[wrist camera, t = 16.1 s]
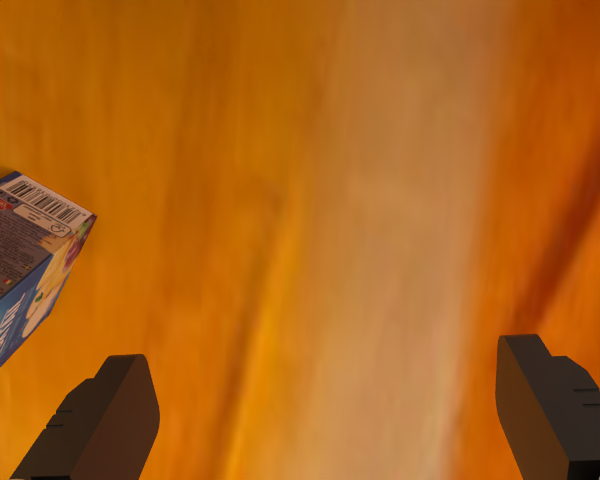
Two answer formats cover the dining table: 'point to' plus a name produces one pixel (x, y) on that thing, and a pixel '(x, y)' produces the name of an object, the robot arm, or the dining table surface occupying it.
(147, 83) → the dining table surface
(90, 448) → the robot arm
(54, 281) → the blue tall cardboard box
